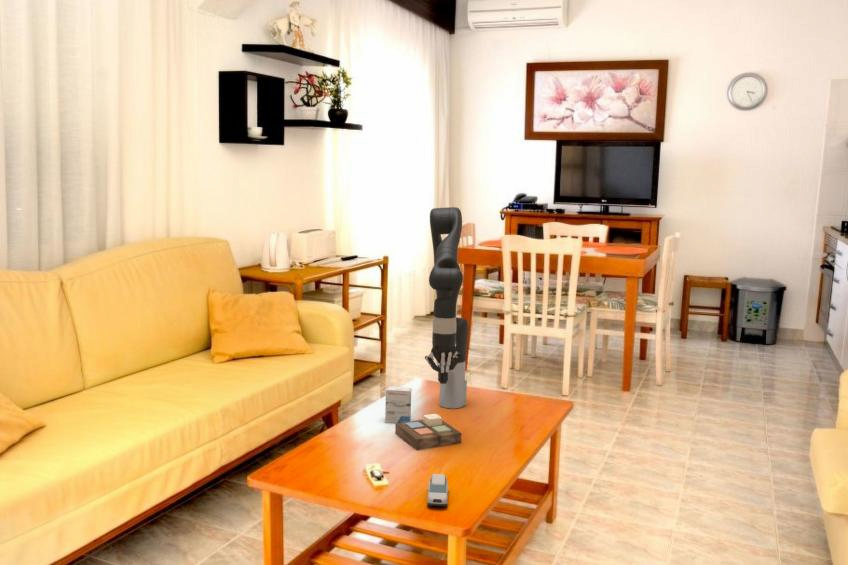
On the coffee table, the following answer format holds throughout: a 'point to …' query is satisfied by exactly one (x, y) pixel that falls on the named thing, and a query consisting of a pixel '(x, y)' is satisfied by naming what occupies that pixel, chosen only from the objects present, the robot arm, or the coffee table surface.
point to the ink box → (398, 405)
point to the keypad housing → (427, 436)
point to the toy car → (438, 490)
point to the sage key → (441, 429)
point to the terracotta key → (423, 431)
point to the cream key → (432, 420)
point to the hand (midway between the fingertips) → (442, 383)
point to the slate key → (414, 425)
